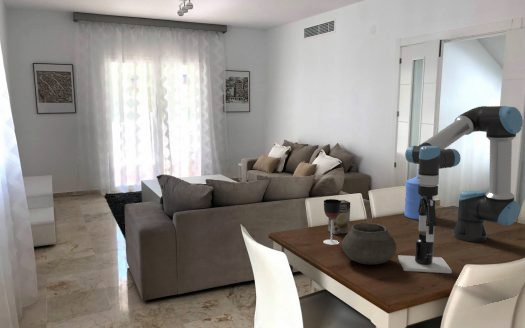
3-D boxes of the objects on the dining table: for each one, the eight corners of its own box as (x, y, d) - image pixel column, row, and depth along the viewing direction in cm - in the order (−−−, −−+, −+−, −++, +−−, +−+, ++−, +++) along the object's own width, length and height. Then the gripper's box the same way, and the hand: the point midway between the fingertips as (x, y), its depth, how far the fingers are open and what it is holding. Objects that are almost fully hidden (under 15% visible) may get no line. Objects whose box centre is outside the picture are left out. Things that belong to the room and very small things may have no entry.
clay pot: (362, 275, 164) (363, 237, 162) (332, 256, 183) (333, 223, 181) (406, 266, 173) (408, 230, 170) (373, 250, 192) (374, 217, 190)
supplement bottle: (430, 266, 169) (432, 237, 167) (412, 263, 173) (414, 234, 171) (433, 261, 175) (435, 233, 173) (416, 257, 178) (418, 230, 177)
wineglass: (341, 240, 205) (343, 200, 202) (337, 246, 197) (338, 204, 194) (325, 238, 208) (326, 198, 205) (320, 243, 200) (321, 202, 198)
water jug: (406, 219, 242) (409, 171, 238) (402, 212, 257) (404, 167, 253) (435, 221, 239) (438, 172, 235) (429, 213, 255) (432, 167, 251)
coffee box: (333, 234, 214) (334, 203, 212) (327, 231, 220) (328, 200, 218) (349, 232, 217) (350, 202, 215) (343, 229, 223) (344, 199, 221)
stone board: (441, 260, 179) (442, 257, 179) (451, 273, 166) (451, 270, 166) (397, 258, 182) (398, 255, 182) (403, 270, 168) (403, 267, 168)
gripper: (412, 178, 182) (410, 226, 185) (425, 191, 157) (423, 246, 161) (430, 179, 181) (428, 227, 184) (446, 191, 156) (443, 247, 160)
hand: (425, 236), depth 172 cm, fingers open, 13 cm apart
